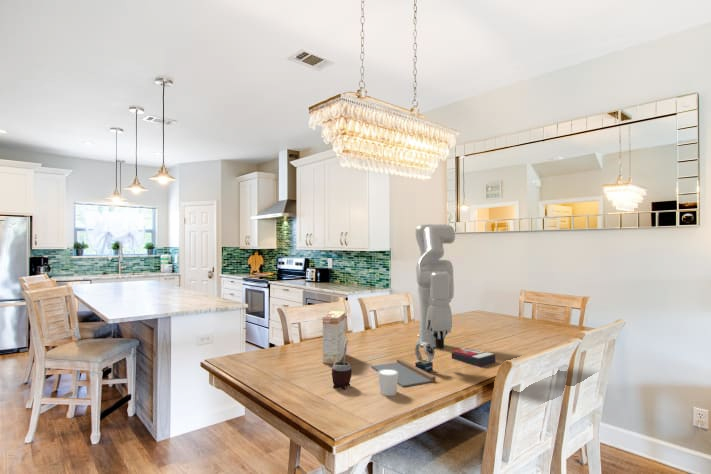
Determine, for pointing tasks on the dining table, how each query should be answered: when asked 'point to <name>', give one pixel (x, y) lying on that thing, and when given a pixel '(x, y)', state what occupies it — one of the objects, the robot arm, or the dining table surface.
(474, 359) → the calculator
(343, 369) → the mate gourd
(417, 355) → the watch
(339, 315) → the coffeecake box
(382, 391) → the white cup
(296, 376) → the dining table surface
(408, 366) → the mat
